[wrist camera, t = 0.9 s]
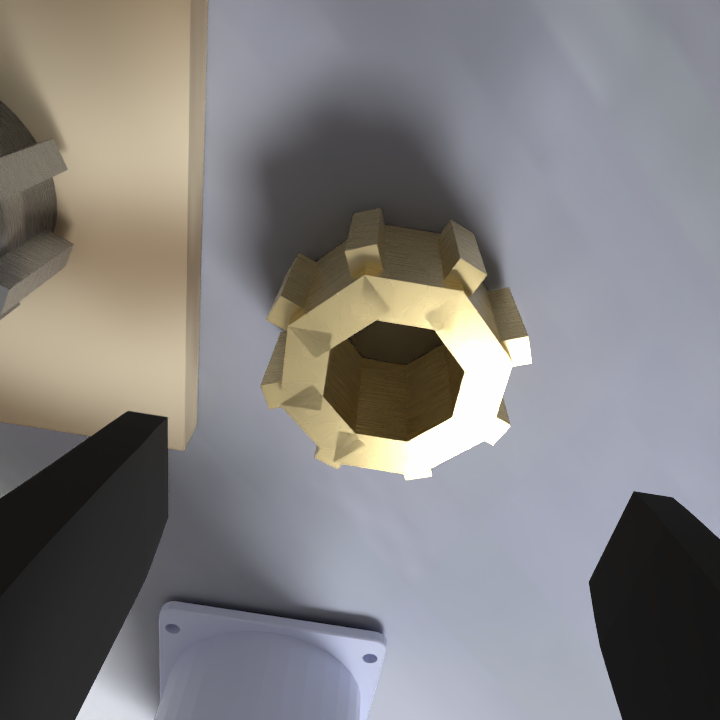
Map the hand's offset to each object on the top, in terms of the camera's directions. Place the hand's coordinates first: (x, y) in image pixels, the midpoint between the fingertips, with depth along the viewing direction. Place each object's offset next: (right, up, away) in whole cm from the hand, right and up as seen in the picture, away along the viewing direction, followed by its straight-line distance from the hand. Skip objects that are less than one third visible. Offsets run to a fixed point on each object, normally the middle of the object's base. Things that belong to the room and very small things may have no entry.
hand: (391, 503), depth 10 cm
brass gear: (0, +3, +6) cm, 7 cm away
